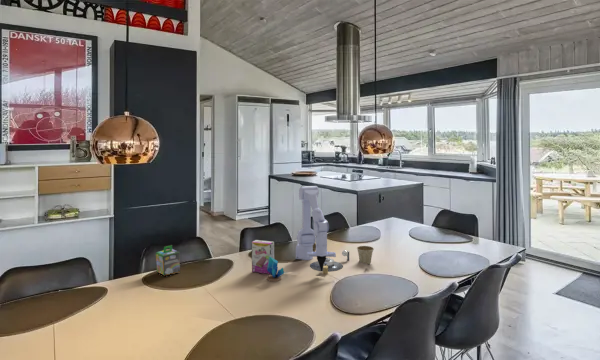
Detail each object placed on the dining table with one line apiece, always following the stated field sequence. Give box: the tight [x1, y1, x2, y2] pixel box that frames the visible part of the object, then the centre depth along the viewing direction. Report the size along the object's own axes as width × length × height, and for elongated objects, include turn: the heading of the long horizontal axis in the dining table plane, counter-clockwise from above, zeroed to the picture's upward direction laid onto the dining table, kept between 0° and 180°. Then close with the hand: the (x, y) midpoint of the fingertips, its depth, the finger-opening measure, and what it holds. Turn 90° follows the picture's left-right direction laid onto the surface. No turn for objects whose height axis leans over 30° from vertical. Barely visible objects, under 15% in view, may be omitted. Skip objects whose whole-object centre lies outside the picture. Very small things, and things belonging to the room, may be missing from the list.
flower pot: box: [356, 245, 375, 265], centre depth 206 cm, size 9×9×9 cm
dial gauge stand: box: [341, 249, 350, 261], centre depth 209 cm, size 5×4×7 cm
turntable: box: [309, 260, 344, 275], centre depth 198 cm, size 18×21×4 cm
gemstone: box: [266, 257, 284, 282], centre depth 183 cm, size 7×9×12 cm
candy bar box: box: [251, 239, 275, 275], centre depth 193 cm, size 11×5×16 cm, turn 71°
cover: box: [319, 257, 335, 268], centre depth 199 cm, size 8×8×4 cm
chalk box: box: [155, 244, 181, 275], centre depth 193 cm, size 9×9×15 cm
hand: (321, 270), depth 189 cm, fingers closed
